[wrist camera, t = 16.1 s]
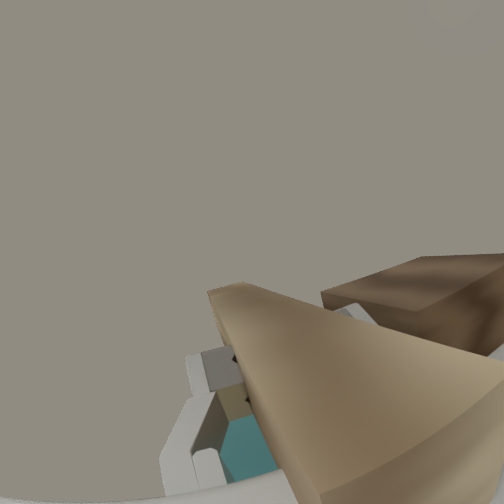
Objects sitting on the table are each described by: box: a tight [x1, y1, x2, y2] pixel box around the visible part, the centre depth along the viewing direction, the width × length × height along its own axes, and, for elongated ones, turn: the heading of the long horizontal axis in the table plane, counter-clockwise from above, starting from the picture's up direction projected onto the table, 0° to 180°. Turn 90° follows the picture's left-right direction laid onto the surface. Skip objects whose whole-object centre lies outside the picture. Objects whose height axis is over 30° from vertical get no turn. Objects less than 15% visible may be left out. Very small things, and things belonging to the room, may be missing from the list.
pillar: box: [321, 253, 504, 357], centre depth 22 cm, size 12×13×26 cm
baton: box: [207, 282, 504, 504], centre depth 13 cm, size 3×22×3 cm, turn 11°
